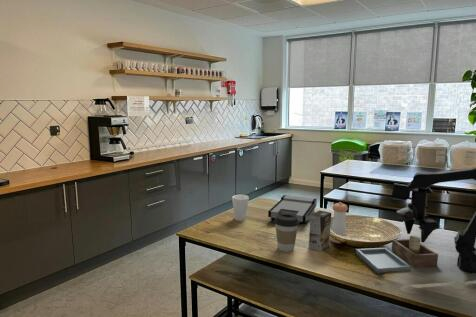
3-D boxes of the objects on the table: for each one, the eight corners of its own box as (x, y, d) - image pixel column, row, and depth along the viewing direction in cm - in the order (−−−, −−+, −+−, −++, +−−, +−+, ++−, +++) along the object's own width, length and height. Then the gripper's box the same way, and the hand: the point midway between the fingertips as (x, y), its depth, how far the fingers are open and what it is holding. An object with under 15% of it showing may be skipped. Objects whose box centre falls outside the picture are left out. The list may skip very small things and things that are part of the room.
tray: (410, 272, 136) (411, 266, 135) (377, 274, 134) (378, 268, 133) (385, 252, 153) (385, 247, 153) (355, 254, 151) (356, 249, 151)
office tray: (268, 223, 191) (268, 209, 189) (283, 207, 220) (283, 195, 218) (305, 228, 183) (305, 214, 181) (316, 211, 212) (316, 198, 210)
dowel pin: (420, 259, 145) (422, 239, 143) (411, 260, 144) (413, 239, 143) (414, 255, 149) (416, 235, 147) (405, 255, 148) (407, 236, 147)
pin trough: (436, 268, 140) (438, 254, 139) (414, 269, 138) (415, 255, 137) (411, 251, 155) (413, 238, 154) (391, 252, 154) (392, 239, 153)
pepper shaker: (327, 240, 167) (329, 202, 164) (335, 236, 172) (337, 199, 169) (341, 244, 162) (343, 205, 159) (348, 240, 167) (351, 202, 164)
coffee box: (321, 251, 154) (322, 217, 151) (308, 247, 158) (309, 214, 155) (329, 245, 161) (331, 212, 158) (317, 241, 165) (319, 209, 162)
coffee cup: (299, 244, 161) (300, 214, 159) (297, 255, 150) (298, 222, 148) (275, 242, 164) (276, 211, 162) (271, 251, 153) (272, 219, 151)
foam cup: (229, 217, 198) (229, 195, 196) (243, 215, 202) (244, 194, 200) (236, 222, 190) (236, 200, 188) (251, 220, 194) (251, 198, 192)
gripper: (388, 196, 151) (385, 230, 153) (415, 209, 132) (411, 248, 135) (411, 196, 152) (408, 229, 155) (441, 208, 134) (437, 246, 136)
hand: (415, 237), depth 145 cm, fingers open, 9 cm apart
